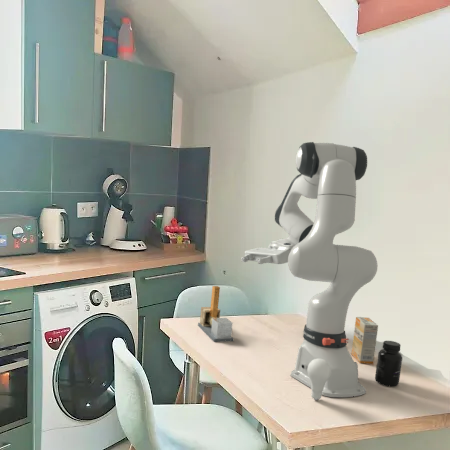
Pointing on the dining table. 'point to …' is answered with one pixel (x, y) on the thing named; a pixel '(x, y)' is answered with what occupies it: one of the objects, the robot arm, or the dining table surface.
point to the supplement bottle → (389, 364)
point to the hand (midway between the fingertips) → (250, 260)
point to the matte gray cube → (221, 328)
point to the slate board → (208, 331)
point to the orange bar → (213, 304)
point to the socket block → (203, 315)
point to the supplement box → (364, 340)
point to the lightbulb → (318, 376)
